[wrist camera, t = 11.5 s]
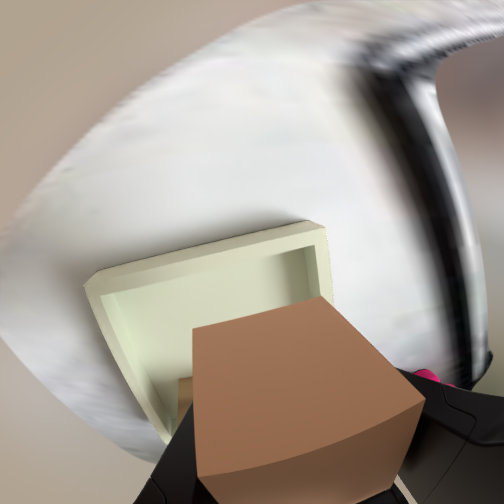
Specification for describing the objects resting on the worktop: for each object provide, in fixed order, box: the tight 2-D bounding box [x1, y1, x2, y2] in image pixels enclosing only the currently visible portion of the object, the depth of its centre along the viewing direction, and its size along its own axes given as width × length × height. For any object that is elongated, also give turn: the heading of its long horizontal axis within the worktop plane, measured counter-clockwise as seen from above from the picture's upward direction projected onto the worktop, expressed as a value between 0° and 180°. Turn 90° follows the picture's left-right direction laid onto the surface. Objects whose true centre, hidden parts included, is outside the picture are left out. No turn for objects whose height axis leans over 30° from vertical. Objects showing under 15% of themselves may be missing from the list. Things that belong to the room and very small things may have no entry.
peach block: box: [192, 296, 426, 504], centre depth 6 cm, size 4×4×5 cm
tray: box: [83, 220, 334, 444], centre depth 17 cm, size 14×14×3 cm
